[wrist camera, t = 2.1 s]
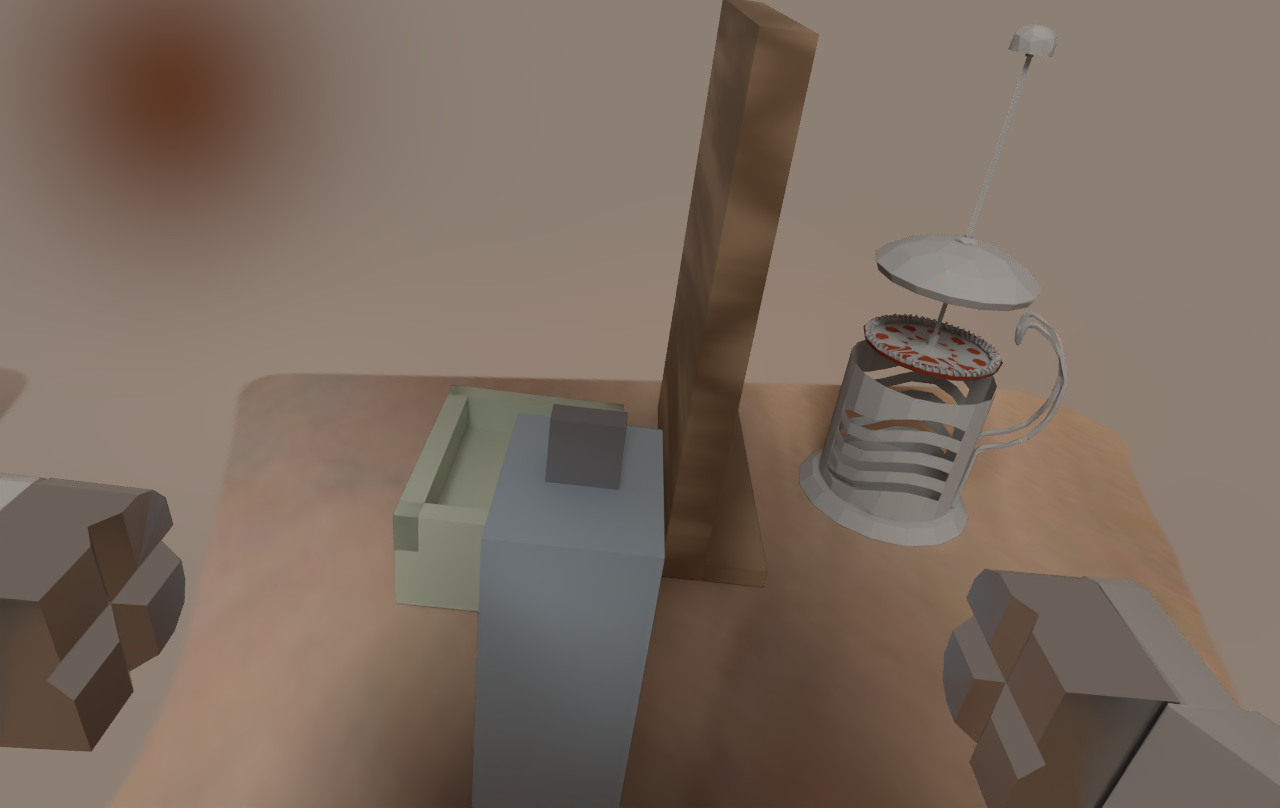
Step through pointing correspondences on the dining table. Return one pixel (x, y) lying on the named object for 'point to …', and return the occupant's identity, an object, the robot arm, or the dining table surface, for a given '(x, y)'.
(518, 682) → the grey block with tab
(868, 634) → the dining table surface
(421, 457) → the pale green open box
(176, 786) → the dining table surface
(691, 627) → the dining table surface
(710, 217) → the wooden flat block
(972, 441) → the french press
